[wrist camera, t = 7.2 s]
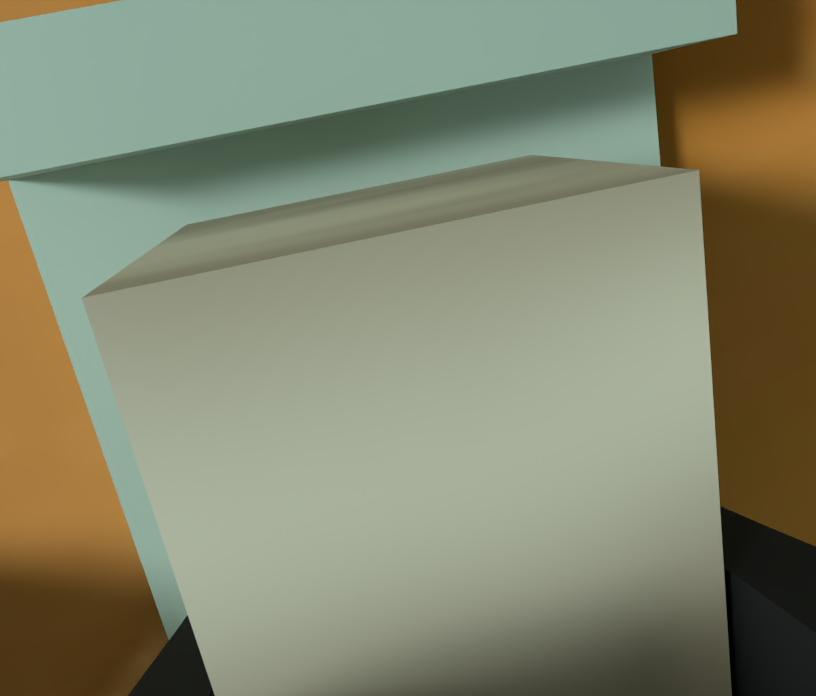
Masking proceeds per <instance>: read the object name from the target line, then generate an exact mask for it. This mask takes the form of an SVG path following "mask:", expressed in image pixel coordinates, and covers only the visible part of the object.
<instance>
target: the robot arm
mask: <svg viewBox="0 0 816 696" xmlns="http://www.w3.org/2000/svg"><path fill="white" fill-rule="evenodd" d="M720 513H721V529H722V545H723V561H724V577H725V593H726V609H727V625H728V641H729V657H730V673H731V689H732V696H816V547H815V546H813V545H810V544H808V543H805V542H803V541H800V540H798V539H795V538H793V537H791V536H788V535H786V534H783V533H781V532H779V531H776V530H774V529H772V528H769V527H767V526H764V525H762V524H760V523H757V522H755V521H753V520H750V519H748V518H746V517H744V516H741V515H739V514H737V513H734V512H732V511H730V510H728V509H725V508H723V507H721V506H720ZM128 696H215V695H214V692H213V689H212V686H211V683H210V680H209V677H208V674H207V671H206V668H205V665H204V662H203V659H202V656H201V653H200V650H199V647H198V644H197V641H196V638H195V635H194V632H193V629H192V626H191V623H190V620H189V617H188V615H187V616H186V618H185V619H184V620H183V622H182V623H181V625H180V626H179V627H178V629H177V630H176V632H175V633H174V634H173V636H172V637H171V639H170V640H169V641H168V643H167V644H166V645H165V647H164V648H163V650H162V651H161V652H160V654H159V655H158V656H157V658H156V659H155V660H154V662H153V663H152V664H151V666H150V667H149V668H148V670H147V671H146V672H145V674H144V675H143V676H142V678H141V679H140V680H139V682H138V683H137V684H136V686H135V687H134V688H133V690H132V691H131V692H130V694H129V695H128Z"/></svg>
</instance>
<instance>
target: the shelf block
mask: <svg viewBox="0 0 816 696" xmlns="http://www.w3.org/2000/svg"><path fill="white" fill-rule="evenodd" d="M82 301H83V304H84V307H85V310H86V313H87V316H88V319H89V322H90V325H91V327H92V330H93V333H94V336H95V339H96V342H97V345H98V348H99V351H100V354H101V357H102V360H103V363H104V366H105V369H106V372H107V375H108V378H109V381H110V384H111V387H112V390H113V393H114V396H115V399H116V402H117V405H118V408H119V411H120V414H121V417H122V420H123V423H124V426H125V429H126V432H127V435H128V438H129V441H130V444H131V447H132V450H133V453H134V456H135V459H136V462H137V465H138V468H139V471H140V474H141V477H142V480H143V483H144V486H145V489H146V492H147V495H148V498H149V501H150V504H151V507H152V510H153V513H154V516H155V519H156V522H157V525H158V528H159V531H160V534H161V537H162V540H163V543H164V546H165V549H166V552H167V555H168V558H169V561H170V564H171V566H172V569H173V572H174V575H175V578H176V581H177V584H178V587H179V590H180V593H181V596H182V599H183V602H184V605H185V608H186V611H187V614H188V617H189V620H190V623H191V626H192V629H193V632H194V635H195V638H196V641H197V644H198V647H199V650H200V653H201V656H202V659H203V662H204V665H205V668H206V671H207V674H208V677H209V680H210V683H211V686H212V689H213V692H214V695H215V696H732V689H731V673H730V657H729V641H728V625H727V609H726V593H725V577H724V561H723V545H722V529H721V513H720V497H719V481H718V465H717V449H716V433H715V417H714V401H713V385H712V369H711V353H710V337H709V321H708V305H707V289H706V273H705V257H704V241H703V225H702V209H701V193H700V177H699V170H694V169H683V168H672V167H661V166H650V165H639V164H628V163H616V162H605V161H594V160H583V159H572V158H561V157H550V156H539V155H528V156H523V157H518V158H513V159H508V160H503V161H498V162H493V163H488V164H483V165H478V166H473V167H468V168H463V169H458V170H454V171H449V172H444V173H439V174H434V175H429V176H424V177H419V178H414V179H409V180H404V181H399V182H394V183H389V184H384V185H380V186H375V187H370V188H365V189H360V190H355V191H350V192H345V193H340V194H335V195H330V196H325V197H320V198H315V199H310V200H306V201H301V202H296V203H291V204H286V205H281V206H276V207H271V208H266V209H261V210H256V211H251V212H246V213H241V214H236V215H232V216H227V217H222V218H217V219H212V220H207V221H202V222H197V223H192V224H187V225H185V226H184V227H182V228H181V229H179V230H178V231H177V232H175V233H174V234H172V235H171V236H169V237H168V238H167V239H165V240H164V241H162V242H161V243H159V244H158V245H157V246H155V247H154V248H152V249H151V250H149V251H148V252H147V253H145V254H144V255H142V256H141V257H139V258H138V259H137V260H135V261H134V262H132V263H131V264H129V265H128V266H127V267H125V268H124V269H122V270H121V271H119V272H118V273H117V274H115V275H114V276H112V277H111V278H109V279H108V280H107V281H105V282H104V283H102V284H101V285H99V286H98V287H97V288H95V289H94V290H92V291H91V292H89V293H88V294H87V295H85V296H84V297H82Z"/></svg>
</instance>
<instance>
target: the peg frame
mask: <svg viewBox="0 0 816 696" xmlns="http://www.w3.org/2000/svg"><path fill="white" fill-rule="evenodd" d="M734 34H737V17H736V0H121V1H116V2H110V3H105V4H99V5H94V6H88V7H83V8H77V9H72V10H66V11H61V12H55V13H50V14H44V15H39V16H33V17H28V18H22V19H17V20H11V21H6V22H0V181H6V180H8V182H9V185H10V188H11V191H12V193H13V196H14V199H15V202H16V205H17V208H18V211H19V213H20V216H21V219H22V222H23V225H24V228H25V231H26V234H27V236H28V239H29V242H30V245H31V248H32V251H33V254H34V256H35V259H36V262H37V265H38V268H39V271H40V274H41V276H42V279H43V282H44V285H45V288H46V291H47V294H48V297H49V299H50V302H51V305H52V308H53V311H54V314H55V317H56V319H57V322H58V325H59V328H60V331H61V334H62V337H63V340H64V342H65V345H66V348H67V351H68V354H69V357H70V360H71V362H72V365H73V368H74V371H75V374H76V377H77V380H78V383H79V385H80V388H81V391H82V394H83V397H84V400H85V403H86V405H87V408H88V411H89V414H90V417H91V420H92V423H93V425H94V428H95V431H96V434H97V437H98V440H99V443H100V446H101V448H102V451H103V454H104V457H105V460H106V463H107V466H108V468H109V471H110V474H111V477H112V480H113V483H114V486H115V489H116V491H117V494H118V497H119V500H120V503H121V506H122V509H123V511H124V514H125V517H126V520H127V523H128V526H129V529H130V531H131V534H132V537H133V540H134V543H135V546H136V549H137V552H138V554H139V557H140V560H141V563H142V566H143V569H144V572H145V574H146V577H147V580H148V583H149V586H150V589H151V592H152V595H153V597H154V600H155V603H156V606H157V609H158V612H159V615H160V617H161V620H162V623H163V626H164V629H165V632H166V635H167V638H168V640H170V639H171V637H172V636H173V634H174V633H175V632H176V630H177V629H178V627H179V626H180V625H181V623H182V622H183V620H184V619H185V618H186V616H187V615H188V614H187V611H186V608H185V605H184V602H183V599H182V596H181V593H180V590H179V587H178V584H177V581H176V578H175V575H174V572H173V569H172V566H171V564H170V561H169V558H168V555H167V552H166V549H165V546H164V543H163V540H162V537H161V534H160V531H159V528H158V525H157V522H156V519H155V516H154V513H153V510H152V507H151V504H150V501H149V498H148V495H147V492H146V489H145V486H144V483H143V480H142V477H141V474H140V471H139V468H138V465H137V462H136V459H135V456H134V453H133V450H132V447H131V444H130V441H129V438H128V435H127V432H126V429H125V426H124V423H123V420H122V417H121V414H120V411H119V408H118V405H117V402H116V399H115V396H114V393H113V390H112V387H111V384H110V381H109V378H108V375H107V372H106V369H105V366H104V363H103V360H102V357H101V354H100V351H99V348H98V345H97V342H96V339H95V336H94V333H93V330H92V327H91V325H90V322H89V319H88V316H87V313H86V310H85V307H84V304H83V301H82V297H84V296H85V295H87V294H88V293H89V292H91V291H92V290H94V289H95V288H97V287H98V286H99V285H101V284H102V283H104V282H105V281H107V280H108V279H109V278H111V277H112V276H114V275H115V274H117V273H118V272H119V271H121V270H122V269H124V268H125V267H127V266H128V265H129V264H131V263H132V262H134V261H135V260H137V259H138V258H139V257H141V256H142V255H144V254H145V253H147V252H148V251H149V250H151V249H152V248H154V247H155V246H157V245H158V244H159V243H161V242H162V241H164V240H165V239H167V238H168V237H169V236H171V235H172V234H174V233H175V232H177V231H178V230H179V229H181V228H182V227H184V226H185V225H187V224H192V223H197V222H202V221H207V220H212V219H217V218H222V217H227V216H232V215H236V214H241V213H246V212H251V211H256V210H261V209H266V208H271V207H276V206H281V205H286V204H291V203H296V202H301V201H306V200H310V199H315V198H320V197H325V196H330V195H335V194H340V193H345V192H350V191H355V190H360V189H365V188H370V187H375V186H380V185H384V184H389V183H394V182H399V181H404V180H409V179H414V178H419V177H424V176H429V175H434V174H439V173H444V172H449V171H454V170H458V169H463V168H468V167H473V166H478V165H483V164H488V163H493V162H498V161H503V160H508V159H513V158H518V157H523V156H528V155H539V156H550V157H561V158H572V159H583V160H594V161H605V162H616V163H628V164H639V165H650V166H661V165H660V153H659V140H658V127H657V114H656V101H655V89H654V76H653V63H652V54H655V53H659V52H663V51H667V50H672V49H676V48H680V47H684V46H688V45H692V44H697V43H701V42H705V41H709V40H713V39H717V38H722V37H726V36H730V35H734Z"/></svg>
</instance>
